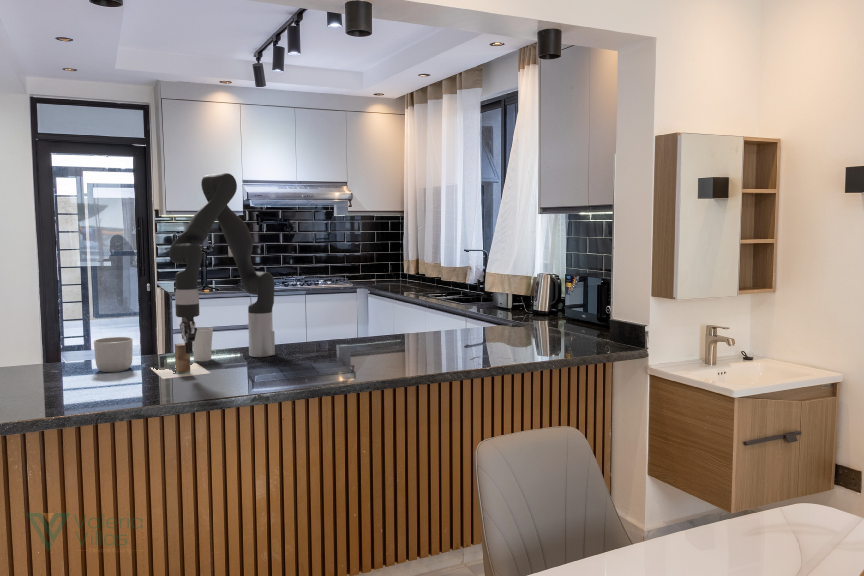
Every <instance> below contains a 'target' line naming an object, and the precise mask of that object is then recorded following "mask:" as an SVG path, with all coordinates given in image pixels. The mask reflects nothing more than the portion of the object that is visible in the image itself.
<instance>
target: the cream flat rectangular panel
mask: <svg viewBox="0 0 864 576" xmlns="http://www.w3.org/2000/svg"><path fill="white" fill-rule="evenodd" d="M192 363H193V364H192V365H190V373H186V374H173V373H175V372H173V371H172V370H169V369H165V370H159V369H158V370H156V369H155V368H154V369H153V367H150V368H151V369H150V370H151V371H153V373H155V374H156V375H158V376H159V378H161V379H163V380H166V379H173V378H182V377H190V376H191V377H192V376H198V375H206V374H207V375H208V374H211V372H210V371H208V370H207V369H206V368H204V367H203V366H201V365H200V364H198V363H196V362H192ZM175 370H176V369H175Z"/></svg>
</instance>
